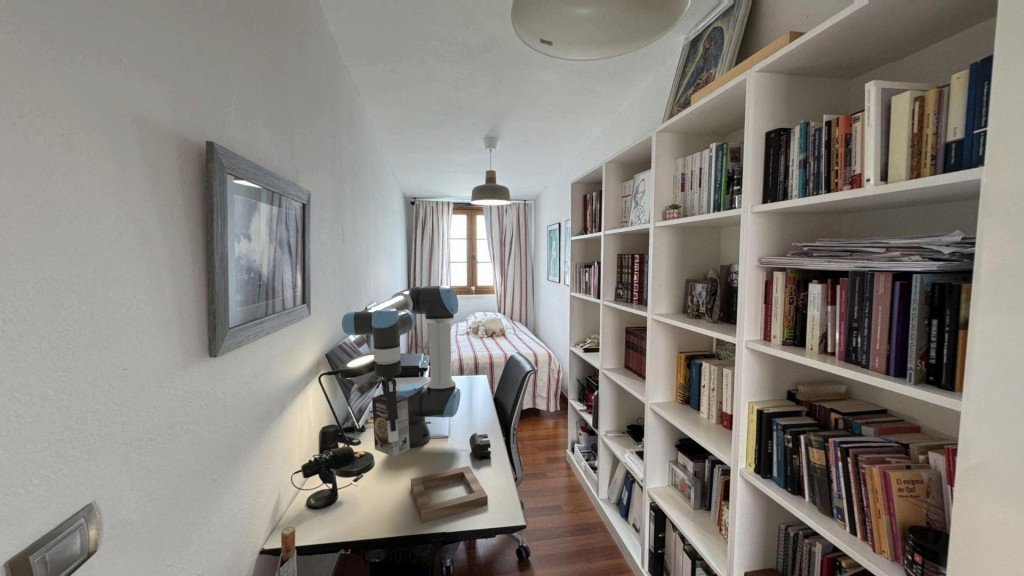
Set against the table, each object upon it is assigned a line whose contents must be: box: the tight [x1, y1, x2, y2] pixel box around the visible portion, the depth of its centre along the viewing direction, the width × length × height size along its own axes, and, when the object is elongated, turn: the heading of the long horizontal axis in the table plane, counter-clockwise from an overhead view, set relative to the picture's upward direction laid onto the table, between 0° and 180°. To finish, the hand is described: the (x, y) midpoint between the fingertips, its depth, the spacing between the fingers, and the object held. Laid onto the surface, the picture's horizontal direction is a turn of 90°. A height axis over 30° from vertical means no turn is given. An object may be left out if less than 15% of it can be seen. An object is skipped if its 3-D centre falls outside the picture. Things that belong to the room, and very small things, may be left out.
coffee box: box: [371, 393, 411, 458], centre depth 122 cm, size 9×6×16 cm
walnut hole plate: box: [410, 465, 489, 524], centre depth 130 cm, size 20×20×3 cm
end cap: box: [468, 432, 492, 461], centre depth 157 cm, size 10×7×7 cm
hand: (391, 433), depth 122 cm, fingers closed on coffee box, 11 cm apart
